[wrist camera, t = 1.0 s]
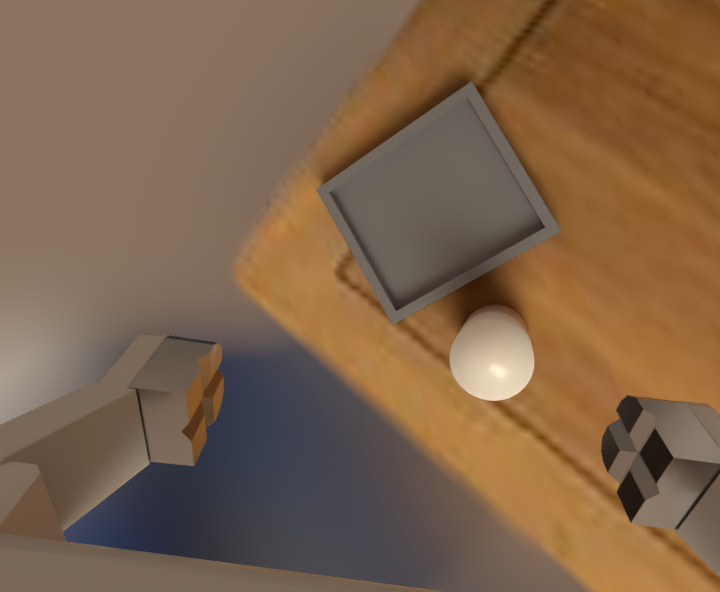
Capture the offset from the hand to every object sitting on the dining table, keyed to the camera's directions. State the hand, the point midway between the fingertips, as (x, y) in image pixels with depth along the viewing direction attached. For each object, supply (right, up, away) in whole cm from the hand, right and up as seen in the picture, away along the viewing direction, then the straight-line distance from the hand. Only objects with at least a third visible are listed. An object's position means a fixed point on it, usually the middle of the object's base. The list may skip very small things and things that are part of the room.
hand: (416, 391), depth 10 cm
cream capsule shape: (+12, -2, +38) cm, 40 cm away
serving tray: (+6, +11, +39) cm, 40 cm away
